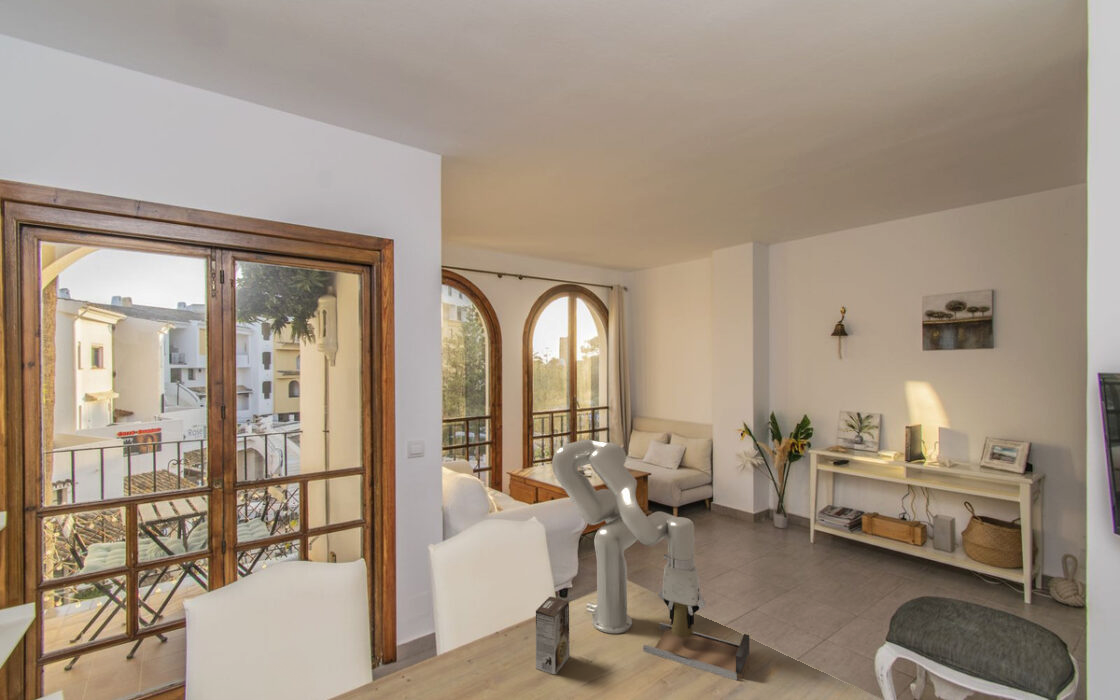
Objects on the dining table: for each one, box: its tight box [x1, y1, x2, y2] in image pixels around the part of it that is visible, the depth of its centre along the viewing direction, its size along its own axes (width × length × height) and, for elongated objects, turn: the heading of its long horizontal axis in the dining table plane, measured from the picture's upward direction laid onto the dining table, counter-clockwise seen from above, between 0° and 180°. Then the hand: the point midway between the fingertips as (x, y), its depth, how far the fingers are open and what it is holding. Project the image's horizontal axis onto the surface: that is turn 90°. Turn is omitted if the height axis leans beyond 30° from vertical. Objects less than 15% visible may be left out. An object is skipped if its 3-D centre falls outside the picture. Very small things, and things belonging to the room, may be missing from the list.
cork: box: [671, 602, 694, 637], centre depth 148 cm, size 6×6×11 cm
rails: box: [642, 622, 740, 681], centre depth 146 cm, size 26×15×2 cm, turn 60°
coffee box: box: [535, 596, 570, 675], centre depth 141 cm, size 9×6×16 cm
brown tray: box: [654, 628, 751, 679], centre depth 145 cm, size 24×12×6 cm, turn 60°
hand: (681, 623), depth 148 cm, fingers closed on cork, 4 cm apart
